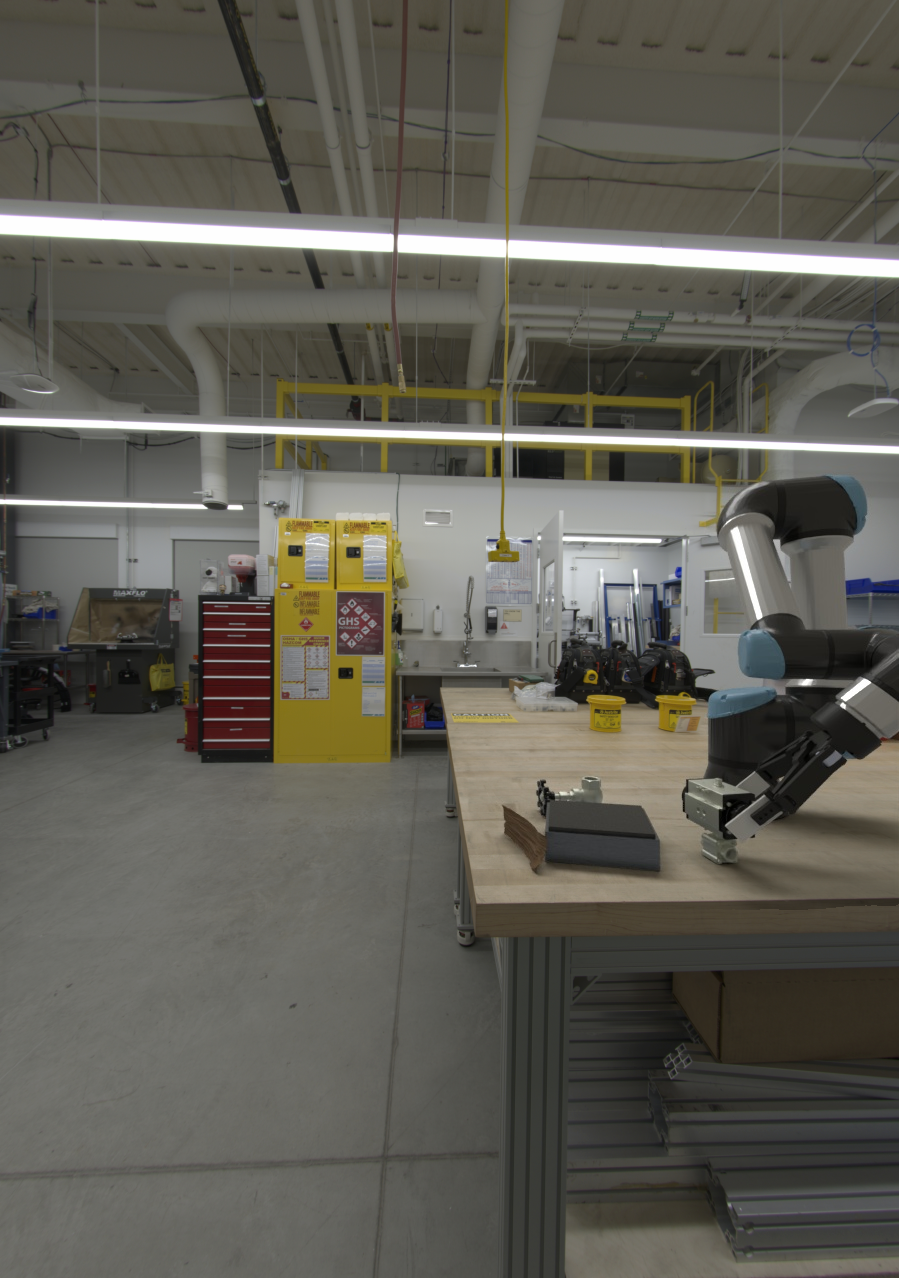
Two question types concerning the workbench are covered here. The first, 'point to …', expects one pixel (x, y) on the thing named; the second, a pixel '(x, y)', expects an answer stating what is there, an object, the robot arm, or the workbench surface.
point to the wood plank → (525, 837)
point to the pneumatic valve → (715, 814)
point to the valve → (570, 793)
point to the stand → (601, 835)
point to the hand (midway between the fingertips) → (730, 818)
